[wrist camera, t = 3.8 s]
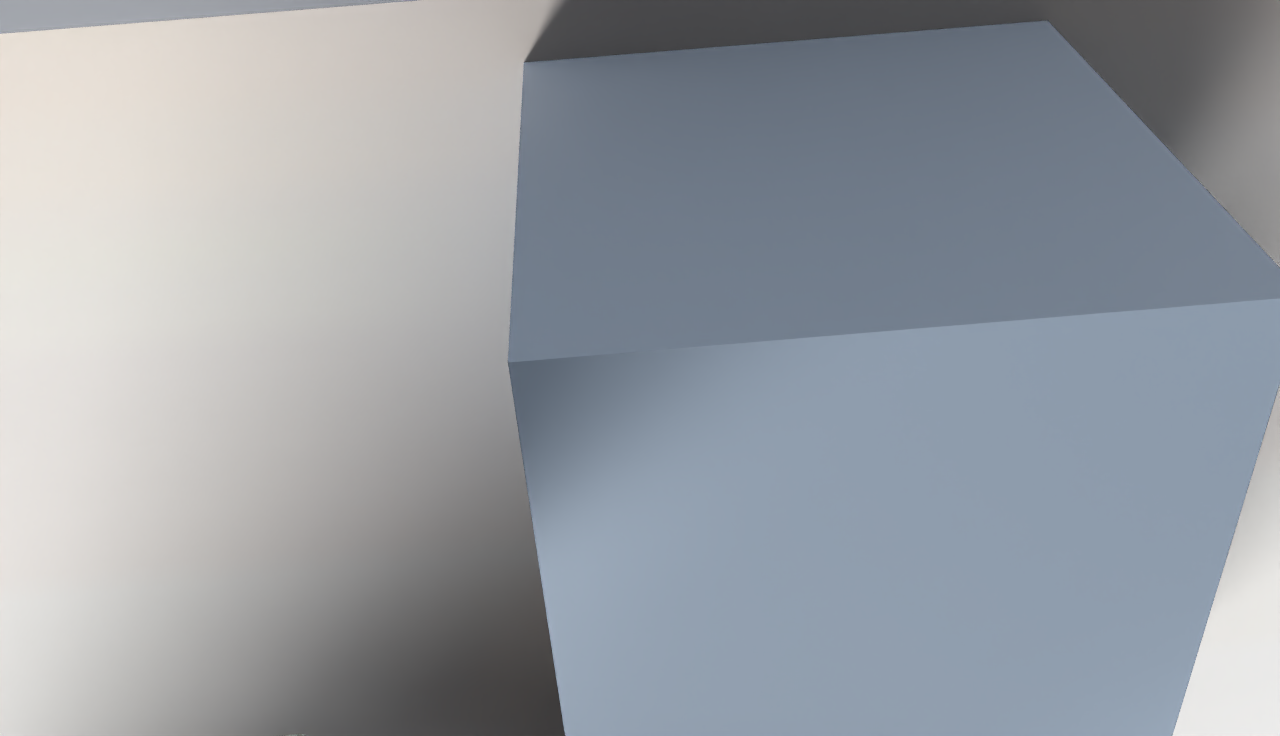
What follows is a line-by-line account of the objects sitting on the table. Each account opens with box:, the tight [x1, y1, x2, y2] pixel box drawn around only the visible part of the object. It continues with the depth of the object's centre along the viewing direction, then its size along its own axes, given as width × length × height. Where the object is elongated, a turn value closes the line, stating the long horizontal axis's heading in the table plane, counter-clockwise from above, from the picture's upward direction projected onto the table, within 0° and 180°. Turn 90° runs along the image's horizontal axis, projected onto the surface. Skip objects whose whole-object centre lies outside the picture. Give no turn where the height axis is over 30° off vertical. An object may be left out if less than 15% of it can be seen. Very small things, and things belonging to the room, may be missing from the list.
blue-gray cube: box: [508, 21, 1280, 736], centre depth 12 cm, size 6×6×6 cm
